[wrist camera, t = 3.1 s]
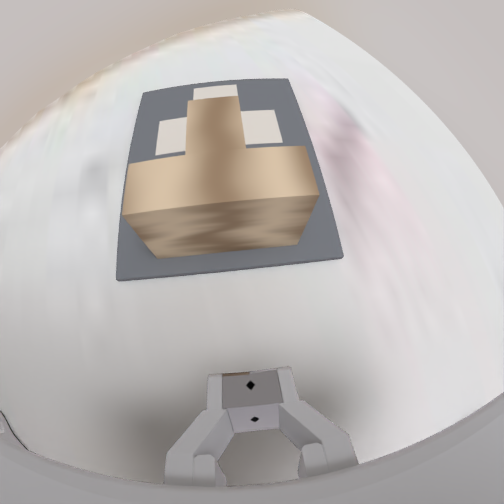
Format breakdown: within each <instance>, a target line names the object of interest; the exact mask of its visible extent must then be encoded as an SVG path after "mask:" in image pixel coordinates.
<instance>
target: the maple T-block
mask: <svg viewBox="0 0 504 504" xmlns="http://www.w3.org/2000/svg"><path fill="white" fill-rule="evenodd" d="M318 197H319V191H318V187H317V184H316V180H315V177H314V173H313V170H312V166H311V163H310V160H309V156H308V153H307V150H306V147H305V146H281V147H261V148H246V144H245V138H244V131H243V124H242V118H241V111H240V104H239V98H238V96H227V97H216V98H206V99H198V100H190V101H188V107H187V125H186V150H185V155H180V156H173V157H167V158H160V159H154V160H148V161H143V162H137V163H132V164H129V166H128V173H127V179H126V186H125V194H124V202H123V211H122V216H123V217H124V218H125V220H126V221H127V222H128V223H129V225H130V226H131V227H132V228H133V230H134V231H135V232H136V233H137V235H138V236H139V237H140V238H141V240H142V241H143V242H144V243H145V244H146V246H147V247H148V248H149V249H150V250H151V252H152V253H153V254H154V255H155V256H156V258H157V259H162V258H172V257H182V256H191V255H201V254H211V253H221V252H230V251H240V250H250V249H260V248H270V247H280V246H290V245H297V244H298V242H299V240H300V237H301V235H302V233H303V231H304V229H305V226H306V224H307V222H308V220H309V218H310V215H311V213H312V211H313V209H314V206H315V204H316V202H317V199H318Z"/></svg>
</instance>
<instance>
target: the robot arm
mask: <svg viewBox="0 0 504 504" xmlns="http://www.w3.org/2000/svg"><path fill="white" fill-rule="evenodd" d="M278 428H279V429H280V430H281V431H282V432H283V433H284V434H285V436H286V437H287V438H288V439H289V440H290V441H291V442H292V443H293V444H294V445H295V446H296V447H297V448H298V449H299V450H300V451H301V455H300V461H299V466H298V476H299V479H295V480H289V481H282V482H275V483H267V484H257V485H244V486H227V479H226V477H225V475H224V473H223V472H222V470H221V468H220V466H219V465H218V463H217V462H218V460H219V458H220V457H221V455H222V454H223V452H224V450H225V449H226V447H227V446H228V444H229V442H230V441H231V439H232V437H233V436H234V433H240V432H249V431H258V430H269V429H278ZM0 504H504V392H503V393H501V394H500V395H499V396H497V397H496V398H494V399H493V400H492V401H490V402H489V403H487V404H486V405H484V406H483V407H481V408H480V409H478V410H477V411H475V412H473V413H472V414H470V415H469V416H467V417H465V418H464V419H462V420H460V421H458V422H457V423H455V424H453V425H451V426H450V427H448V428H446V429H444V430H442V431H440V432H438V433H436V434H434V435H432V436H430V437H428V438H426V439H424V440H422V441H420V442H417V443H415V444H413V445H411V446H408V447H406V448H403V449H401V450H399V451H396V452H393V453H391V454H388V455H386V456H383V457H380V458H377V459H374V460H371V461H368V462H365V463H362V464H359V463H358V460H357V457H356V454H355V451H354V449H353V446H352V443H351V440H350V437H349V434H347V433H346V432H345V431H343V430H342V429H341V428H339V427H338V426H337V425H335V424H334V423H333V422H331V421H330V420H329V419H327V418H326V417H325V416H323V415H322V414H321V413H319V412H318V411H317V410H316V409H314V408H313V407H312V406H310V405H309V404H308V403H307V402H305V401H304V400H299V397H298V393H297V389H296V385H295V381H294V377H293V374H292V370H291V367H290V366H287V367H281V368H272V369H265V370H257V371H249V372H241V373H225V374H209V376H208V385H207V410H202V412H201V413H200V414H199V415H198V417H197V418H196V419H195V420H194V421H193V423H192V424H191V425H190V426H189V427H188V429H187V430H186V431H185V432H184V433H183V434H182V436H181V437H180V438H179V439H178V440H177V441H176V443H175V444H174V445H173V446H172V447H171V448H170V449H169V451H168V452H167V455H166V464H165V475H164V484H155V483H147V482H140V481H133V480H127V479H122V478H117V477H112V476H107V475H103V474H98V473H94V472H90V471H86V470H83V469H79V468H76V467H72V466H69V465H66V464H63V463H60V462H57V461H54V460H51V459H49V458H46V457H43V456H41V455H38V454H36V453H33V452H31V451H28V450H26V449H25V447H24V446H23V445H22V444H21V443H20V442H19V441H18V440H17V438H16V437H15V436H14V435H13V433H12V431H11V430H10V428H9V426H8V424H7V422H6V420H5V418H4V416H3V415H2V413H1V412H0Z"/></svg>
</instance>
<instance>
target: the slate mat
mask: <svg viewBox="0 0 504 504" xmlns="http://www.w3.org/2000/svg"><path fill="white" fill-rule="evenodd" d="M227 96H238V98H239V104H240V111H241V118H242V124H243V131H244V138H245V144H246V148H261V147H281V146H305V147H306V150H307V153H308V156H309V160H310V163H311V166H312V170H313V173H314V177H315V180H316V184H317V187H318V191H319V197H318V199H317V202H316V204H315V206H314V209H313V211H312V213H311V215H310V218H309V220H308V222H307V224H306V226H305V229H304V231H303V233H302V235H301V237H300V240H299V242H298V244H297V245H290V246H280V247H270V248H260V249H250V250H240V251H230V252H221V253H211V254H201V255H191V256H182V257H172V258H162V259H157V258H156V256H155V255H154V254H153V253H152V252H151V250H150V249H149V248H148V247H147V246H146V244H145V243H144V242H143V241H142V240H141V238H140V237H139V236H138V235H137V233H136V232H135V231H134V230H133V228H132V227H131V226H130V225H129V223H128V222H127V221H126V220H125V218H124V217H123V216H122V211H123V202H124V194H125V186H126V179H127V173H128V166H129V164H132V163H137V162H143V161H148V160H154V159H160V158H167V157H173V156H180V155H185V150H186V125H187V107H188V101H190V100H198V99H206V98H216V97H227ZM343 257H344V255H343V251H342V247H341V242H340V238H339V234H338V230H337V226H336V222H335V219H334V215H333V211H332V207H331V204H330V200H329V197H328V193H327V190H326V186H325V183H324V179H323V176H322V173H321V170H320V166H319V163H318V160H317V157H316V154H315V151H314V148H313V145H312V142H311V139H310V136H309V133H308V130H307V127H306V125H305V122H304V119H303V116H302V113H301V111H300V108H299V105H298V103H297V100H296V98H295V95H294V92H293V90H292V87H291V85H290V82H289V80H288V79H243V80H228V81H216V82H207V83H198V84H190V85H183V86H177V87H171V88H165V89H160V90H154V91H149V92H145V93H143V95H142V99H141V103H140V106H139V110H138V115H137V119H136V123H135V127H134V132H133V137H132V142H131V147H130V152H129V157H128V163H127V169H126V175H125V182H124V189H123V196H122V204H121V213H120V223H119V234H118V248H117V267H116V280H118V281H128V280H140V279H151V278H162V277H173V276H184V275H194V274H205V273H215V272H225V271H235V270H244V269H254V268H263V267H272V266H281V265H290V264H299V263H308V262H317V261H325V260H334V259H342V258H343Z"/></svg>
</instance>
